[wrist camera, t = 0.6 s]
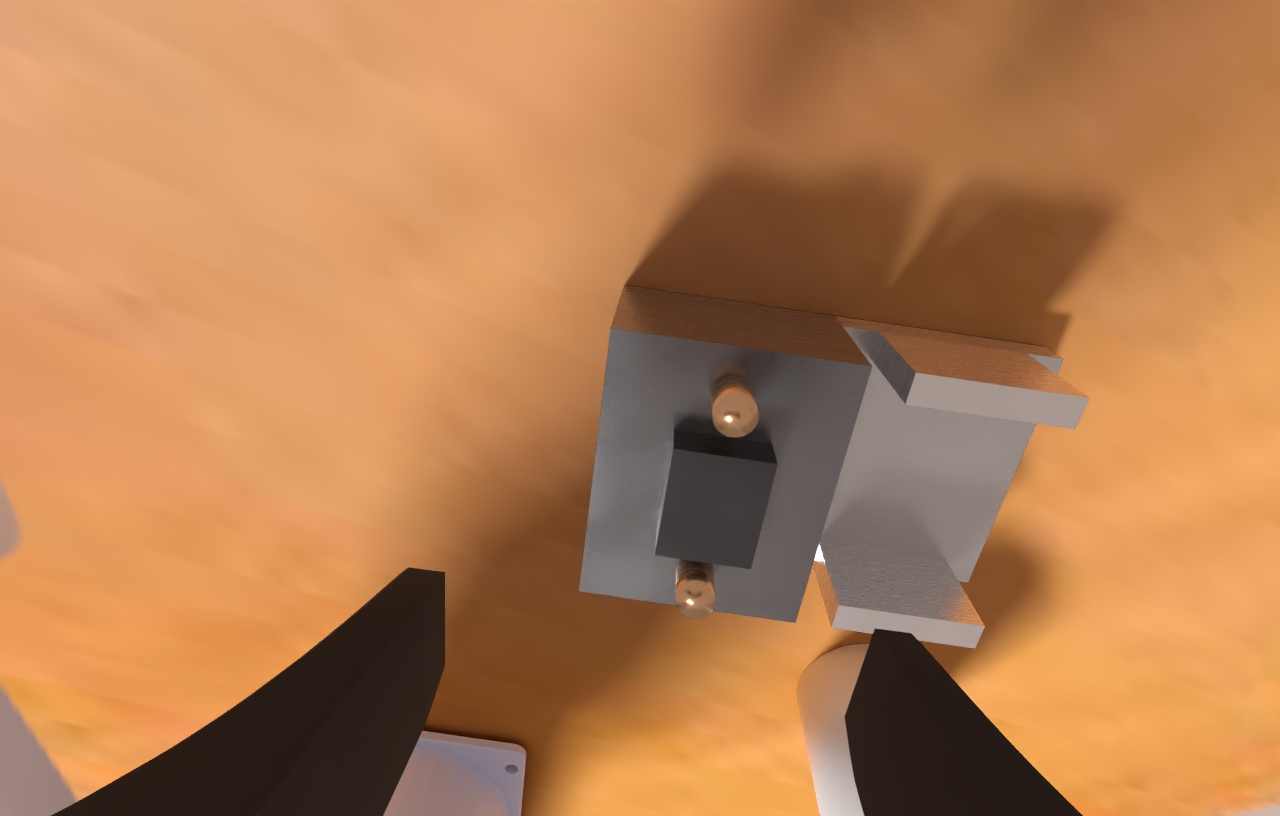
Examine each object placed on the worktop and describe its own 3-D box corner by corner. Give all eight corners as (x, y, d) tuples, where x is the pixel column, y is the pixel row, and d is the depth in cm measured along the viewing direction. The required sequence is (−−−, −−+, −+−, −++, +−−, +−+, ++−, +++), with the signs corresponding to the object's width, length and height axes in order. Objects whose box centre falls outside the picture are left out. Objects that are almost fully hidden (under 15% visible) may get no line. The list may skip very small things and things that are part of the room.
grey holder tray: (956, 563, 22) (1032, 688, 17) (595, 510, 22) (572, 622, 17) (1045, 346, 19) (1168, 427, 14) (624, 284, 19) (605, 345, 14)
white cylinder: (902, 743, 26) (976, 955, 19) (784, 726, 25) (818, 932, 19) (941, 653, 24) (1038, 855, 17) (813, 635, 24) (862, 830, 17)
